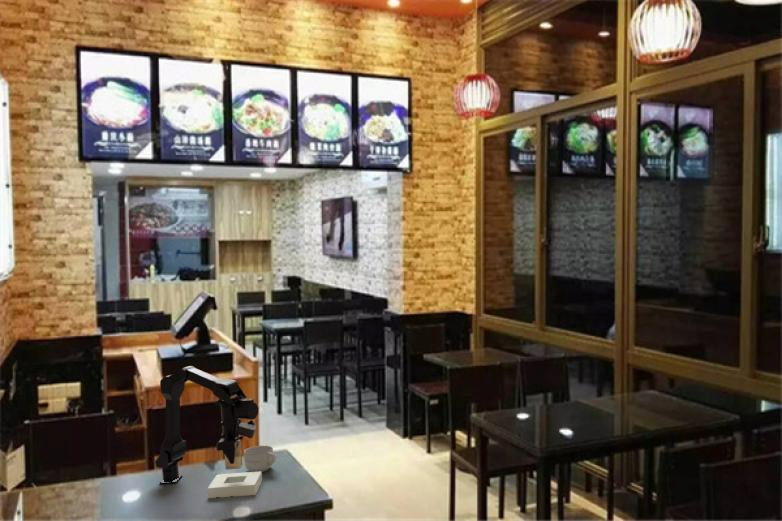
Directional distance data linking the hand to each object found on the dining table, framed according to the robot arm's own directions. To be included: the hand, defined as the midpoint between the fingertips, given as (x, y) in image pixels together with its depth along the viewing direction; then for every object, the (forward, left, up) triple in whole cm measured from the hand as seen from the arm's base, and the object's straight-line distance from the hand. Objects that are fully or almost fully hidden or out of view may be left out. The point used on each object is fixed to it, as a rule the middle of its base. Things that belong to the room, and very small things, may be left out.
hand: (233, 461), depth 218 cm
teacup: (-16, +6, -10) cm, 20 cm away
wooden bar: (0, 0, -2) cm, 2 cm away
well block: (0, 0, -10) cm, 10 cm away
